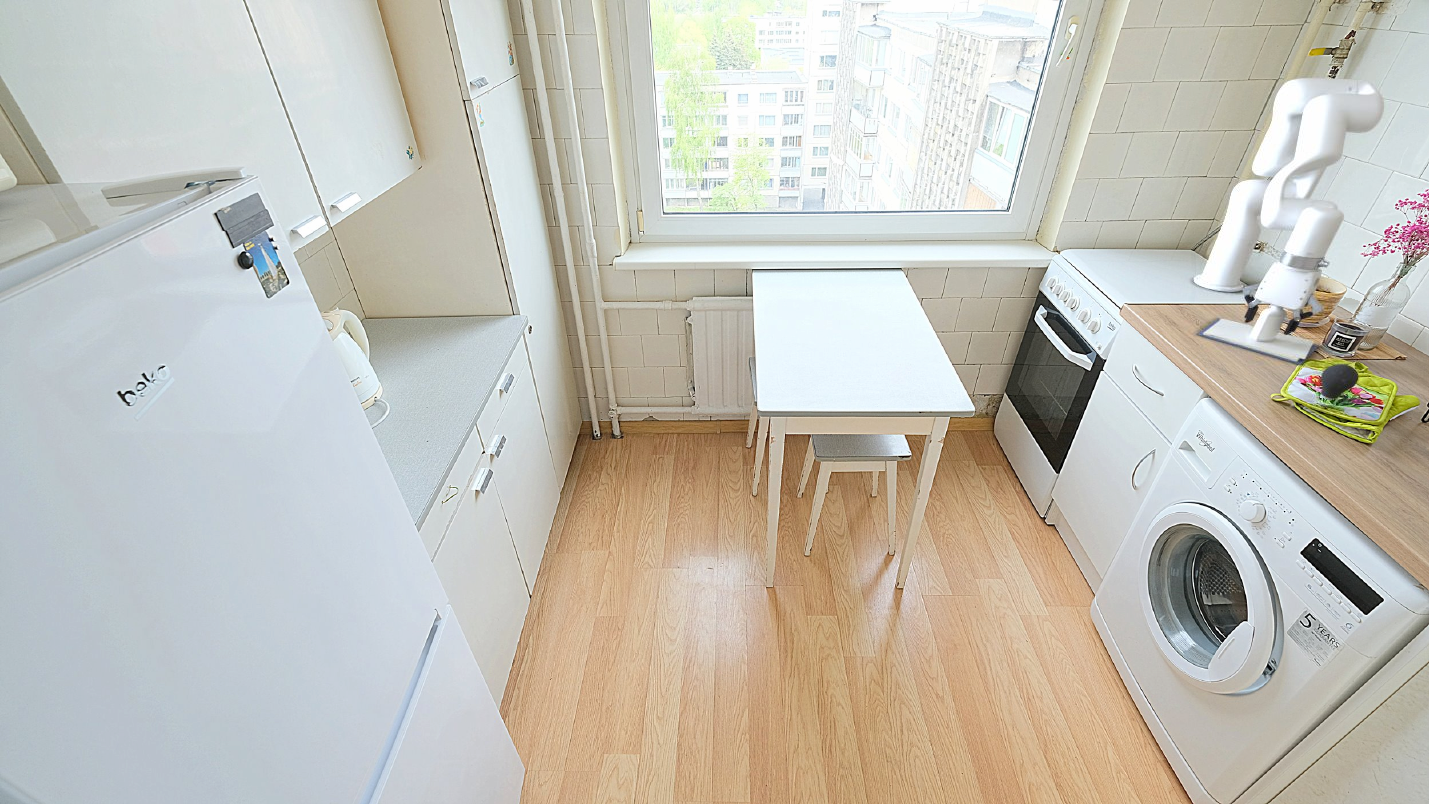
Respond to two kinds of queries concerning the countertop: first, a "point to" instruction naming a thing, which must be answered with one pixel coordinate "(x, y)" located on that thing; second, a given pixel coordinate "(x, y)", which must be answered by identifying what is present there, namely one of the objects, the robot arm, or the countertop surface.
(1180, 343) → the countertop surface
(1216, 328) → the grey flat slab
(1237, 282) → the robot arm
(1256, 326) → the eye dropper bottle
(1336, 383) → the light bulb
